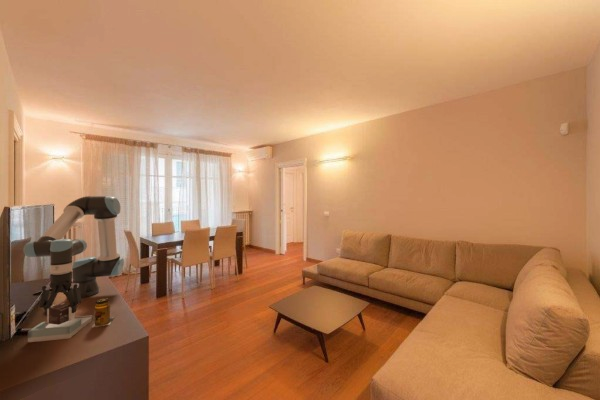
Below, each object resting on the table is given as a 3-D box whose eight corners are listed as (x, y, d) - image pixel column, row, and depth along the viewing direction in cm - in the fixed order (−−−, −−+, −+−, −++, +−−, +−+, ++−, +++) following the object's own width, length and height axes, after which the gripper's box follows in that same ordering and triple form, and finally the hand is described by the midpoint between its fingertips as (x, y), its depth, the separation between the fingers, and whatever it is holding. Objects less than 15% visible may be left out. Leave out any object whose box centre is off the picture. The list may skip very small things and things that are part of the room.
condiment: (91, 328, 119) (91, 303, 119) (97, 320, 127) (97, 297, 127) (109, 325, 122) (110, 301, 122) (114, 317, 130) (114, 294, 130)
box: (58, 325, 112) (58, 309, 112) (48, 323, 113) (48, 308, 113) (73, 318, 118) (73, 303, 118) (63, 317, 119) (63, 302, 119)
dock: (56, 322, 123) (56, 313, 123) (92, 319, 127) (92, 310, 127) (27, 342, 107) (28, 330, 107) (69, 338, 110) (70, 327, 110)
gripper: (27, 276, 109) (27, 326, 109) (81, 273, 114) (81, 322, 114) (41, 271, 116) (41, 318, 117) (91, 269, 121) (91, 314, 121)
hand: (61, 320), depth 115 cm, fingers closed on box, 8 cm apart
